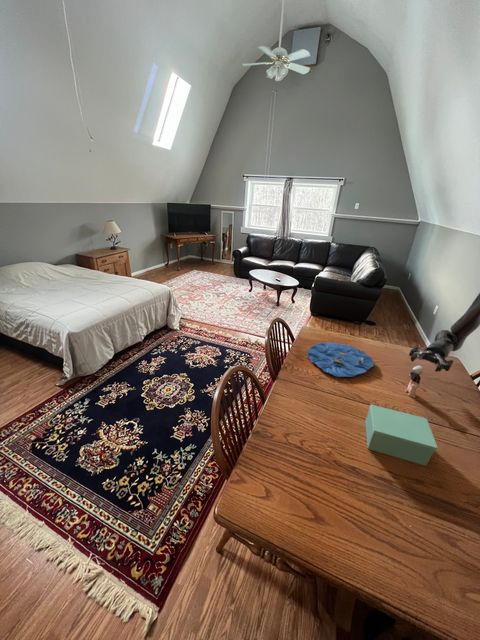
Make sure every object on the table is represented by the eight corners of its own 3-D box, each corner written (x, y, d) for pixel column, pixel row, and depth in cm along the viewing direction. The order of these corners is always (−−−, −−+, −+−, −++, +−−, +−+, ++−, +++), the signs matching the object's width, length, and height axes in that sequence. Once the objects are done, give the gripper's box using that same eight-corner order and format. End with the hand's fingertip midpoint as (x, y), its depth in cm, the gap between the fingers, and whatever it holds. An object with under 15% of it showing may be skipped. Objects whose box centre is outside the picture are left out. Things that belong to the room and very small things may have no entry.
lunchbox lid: (425, 420, 83) (426, 418, 83) (436, 450, 74) (437, 448, 73) (370, 406, 88) (370, 404, 88) (373, 432, 78) (374, 430, 78)
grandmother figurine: (420, 399, 102) (431, 372, 97) (410, 399, 102) (421, 372, 97) (408, 386, 109) (418, 360, 104) (399, 386, 109) (409, 360, 104)
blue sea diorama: (300, 371, 118) (302, 361, 115) (311, 340, 143) (313, 331, 140) (374, 388, 107) (377, 377, 105) (372, 351, 132) (374, 342, 130)
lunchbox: (416, 435, 87) (424, 419, 84) (426, 466, 77) (434, 449, 74) (365, 421, 91) (370, 406, 88) (367, 448, 81) (373, 432, 78)
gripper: (422, 337, 118) (407, 348, 108) (461, 351, 108) (449, 364, 98) (416, 351, 121) (402, 364, 111) (454, 366, 111) (441, 381, 101)
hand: (424, 364), depth 105 cm, fingers open, 8 cm apart
